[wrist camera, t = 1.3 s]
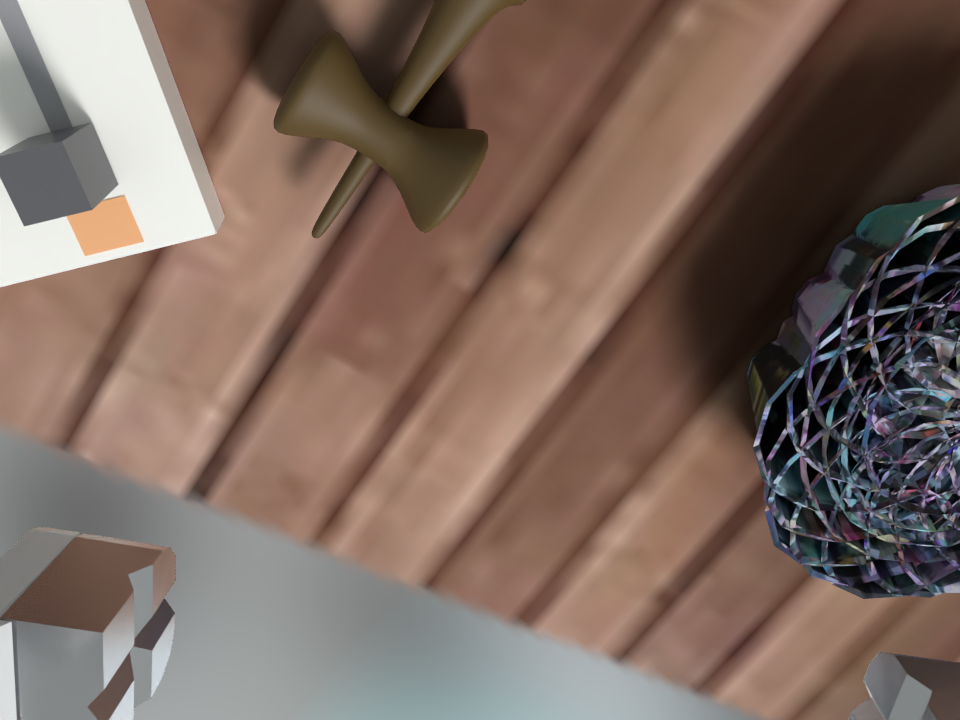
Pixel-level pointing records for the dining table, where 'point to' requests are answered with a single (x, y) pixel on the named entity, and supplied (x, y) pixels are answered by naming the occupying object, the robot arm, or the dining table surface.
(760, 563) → the dining table surface
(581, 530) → the dining table surface
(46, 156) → the block
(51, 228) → the breaker panel
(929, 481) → the decorative bowl
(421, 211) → the kendama
